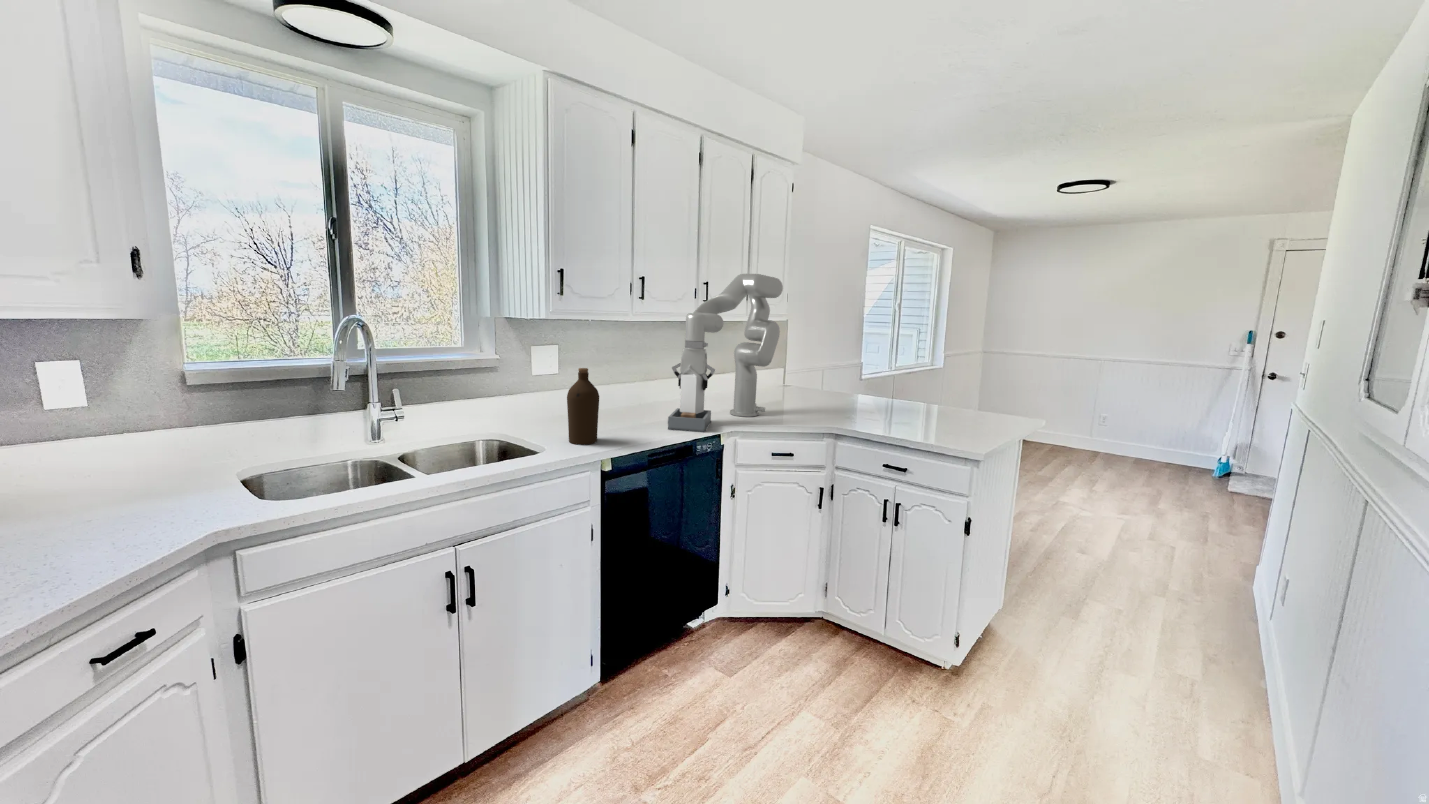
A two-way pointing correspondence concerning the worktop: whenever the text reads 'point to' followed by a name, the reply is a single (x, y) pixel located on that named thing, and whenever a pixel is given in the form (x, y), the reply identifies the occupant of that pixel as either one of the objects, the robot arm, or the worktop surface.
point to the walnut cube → (688, 415)
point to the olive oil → (583, 410)
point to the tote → (689, 421)
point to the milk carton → (692, 393)
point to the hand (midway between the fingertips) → (692, 388)
